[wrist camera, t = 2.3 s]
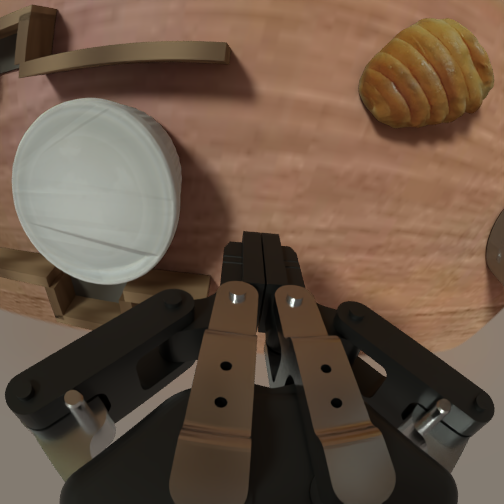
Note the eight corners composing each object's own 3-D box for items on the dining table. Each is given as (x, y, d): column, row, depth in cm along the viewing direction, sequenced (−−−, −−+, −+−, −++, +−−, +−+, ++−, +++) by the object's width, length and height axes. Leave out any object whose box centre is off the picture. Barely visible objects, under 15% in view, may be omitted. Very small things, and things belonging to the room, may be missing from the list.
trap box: (239, -10, 13) (236, -25, 10) (208, 322, 26) (204, 348, 23) (-41, 49, 11) (-64, 53, 9) (-7, 282, 24) (-21, 299, 22)
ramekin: (92, 258, 23) (64, 300, 18) (33, 136, 17) (-13, 157, 12) (219, 220, 21) (209, 264, 16) (161, 64, 15) (129, 61, 11)
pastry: (384, 149, 18) (409, 165, 15) (332, 59, 15) (351, 55, 12) (477, 95, 15) (511, 104, 12) (438, 12, 12) (470, 5, 9)
